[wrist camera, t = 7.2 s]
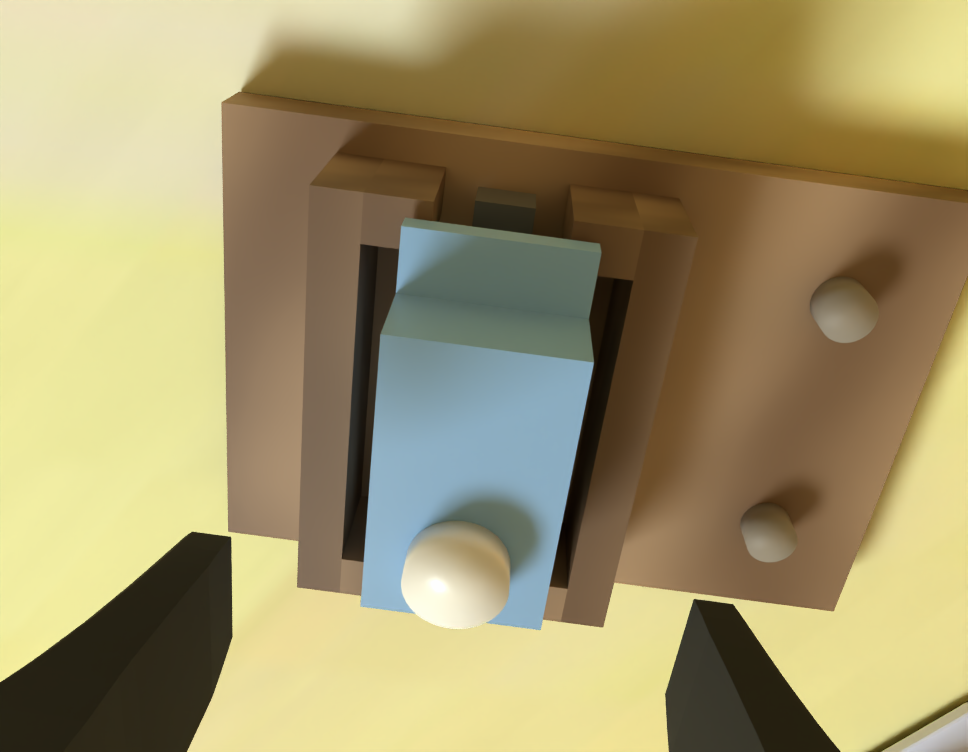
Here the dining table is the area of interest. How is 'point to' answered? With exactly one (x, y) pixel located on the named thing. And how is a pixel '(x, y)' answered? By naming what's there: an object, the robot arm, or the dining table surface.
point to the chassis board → (593, 342)
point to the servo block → (477, 416)
